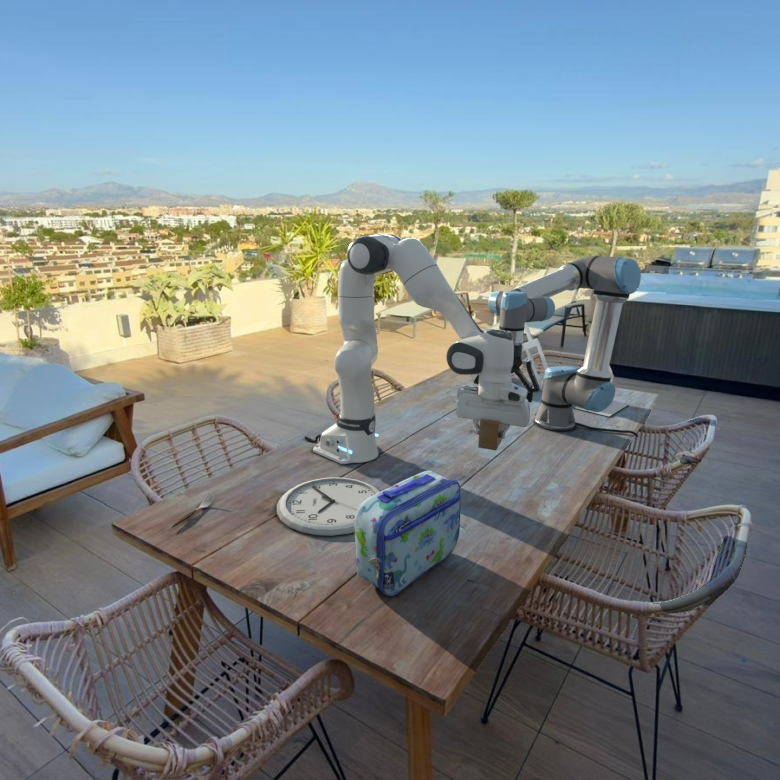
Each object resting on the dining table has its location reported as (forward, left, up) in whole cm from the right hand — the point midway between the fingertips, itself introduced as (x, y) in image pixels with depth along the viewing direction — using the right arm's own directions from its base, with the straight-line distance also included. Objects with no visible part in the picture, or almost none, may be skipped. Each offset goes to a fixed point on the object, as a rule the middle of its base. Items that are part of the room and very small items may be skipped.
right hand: (504, 408), depth 166 cm
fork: (+83, +46, -18) cm, 96 cm away
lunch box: (+25, +61, -18) cm, 68 cm away
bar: (+3, +10, -4) cm, 11 cm away
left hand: (+5, +20, -2) cm, 21 cm away
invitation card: (-48, -63, -18) cm, 82 cm away
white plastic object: (-10, -91, -18) cm, 94 cm away
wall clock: (+48, +36, -18) cm, 63 cm away
